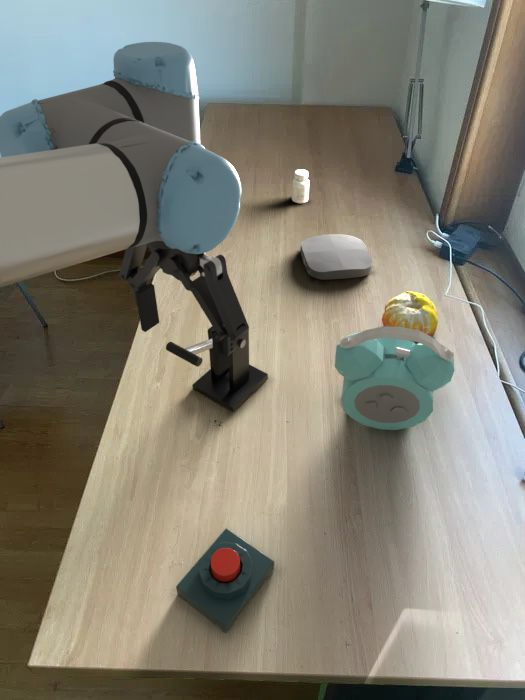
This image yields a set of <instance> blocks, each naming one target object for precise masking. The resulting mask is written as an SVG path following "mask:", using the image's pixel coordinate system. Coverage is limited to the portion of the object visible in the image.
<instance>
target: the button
mask: <svg viewBox="0 0 525 700" xmlns="http://www.w3.org/2000/svg"><path fill="white" fill-rule="evenodd" d="M211 572H212V574H213V576H214V577H215V579H217V580H218V581H221V582H229V581H232V580H234V579H235V578H236V577H237V576H238V574H239V572H240V558H239V556H238V554H237V553H236V552H235V551H234V550H232V549H230V548H222V549H219V550H217V551H216V552H215V553H214V554H213V556H212V558H211Z"/></svg>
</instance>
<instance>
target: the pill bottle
mask: <svg viewBox="0 0 525 700" xmlns="http://www.w3.org/2000/svg"><path fill="white" fill-rule="evenodd" d="M308 178H309V171H308V170H306V169H304V168H303V169H302V168H301V169H296V170H295V171H294V178H293V179H292V185H291V200H292V202H294V203H297V204H305V203H307V202H308V201H309V195H310V179H308Z"/></svg>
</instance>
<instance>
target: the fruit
mask: <svg viewBox="0 0 525 700" xmlns="http://www.w3.org/2000/svg"><path fill="white" fill-rule="evenodd" d="M381 322H382V324H383V325H382V326H388V327H404V328H409V329H414V330H419V331H421V332H423V333H425V334H427V335H429V336H431V337H433V336H434V335H435V333H436V331H437V328H438V324H439V316H438V311H437V308H436V306H435V304H434V302H433V301H432V300H431V299H430V298H429V297H427V295H425V294H424V293H419V292H415V291H405V292H402V293H399V295H397V296H394V297H392V298H391V299H389V301H388V302H386V304H385V305H384V312H383V314H382V317H381ZM408 341H409V340H408ZM412 342H414V343H415V344H419V342H415V341H412Z"/></svg>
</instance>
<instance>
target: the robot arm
mask: <svg viewBox="0 0 525 700" xmlns="http://www.w3.org/2000/svg"><path fill="white" fill-rule="evenodd" d="M112 59H113V71H112V73H113V77H114V78H113V79H110V80H107V81H104V82H103V83H100V84H96V85H93V86H88V87H85V88H80V89H77V90H74V91H70V92H69V91H68V92H65V93H61V94H58V95H54V96H49V97H47V98H41V99H37V98H34V99H32V100H31V101H30V102H28V103H24V104H22V105H19V106H17V107H14V108H11V109H8V110H6V111H4V112H2V114H1V115H0V156H1V157H0V288H3V287H6V286H9V285H13V284H17V283H20V282H23V281H26V280H30V279H33V278H36V277H39V276H43V275H47V274H49V273H53V272H55V271H59V270H63V269H66V268H69V267H72V266H76V265H79V264H82V263H85V262H88V261H92V260H95V259H98V258H101V257H105V256H108V255H112V254H115V253H117V252H122V251H124V250H125V251H124V255H123V259H122V261H121V266H120V270H119V273H118V275H119V279H121V281H122V282H126V281H127V282H128V286H129V287H130V289H131V290H132V291H133V296H134V302H135V305H136V307H137V311H138V317H139V322H140V328H141V331H143V332H144V333H147V332H148V331H150V330H151V329H153V328H154V327H155V326H157V325H158V324H160V318H159V317H160V316H159V310H158V309H159V308H158V303H157V295H156V289H155V284H154V283H151V282H150V281H152V280H153V277H155V275H156V274H157V273H158V272H159V271H160V270H161V271H162V273H164V274H166V275H169V276H172V277H173V278H175V280H177V281H179V282H181V284H182V285H183V287H184V289H185V290H186V291H188V292H191V293H192V295H193V297H194V298H195V300H196V302H197V304H198V305H199V306H200V308H201V310H202V311H203V313H204V315H205V317H206V318H207V320H208V321H209V323H210V325H211V327H212V326H213V328H214V329H215V331H216V332H215V333H213V334H212V343H213V359H214V373H215V374H217V375H220V374H221V373H222V372H224V371H225V370H226V369H227V368H228V367H230V366H231V365H232V352H233V351H234V350H235V340H236V339H237V338H238V337H240V336H241V335H242V334H243V333H245V332H246V331H247V330H248V329H249V330H250V325H249V323H248V321H247V318H246V316H245V313H244V311H243V309H242V306H241V303H240V301H239V298H238V296H237V294H236V291H235V288H234V286H233V283H232V281H231V279H230V276H229V274H228V267H227V260H226V258H225V256H224V255H223V254H218V255H216V256H214V257H213V256H211V255H207V254H206V253H208V252H210V251H213V249H215V248H216V247H218V246H219V245H220V244H221V243H223V242H224V241H225V240H226V238H228V236H229V235H230V233H231V232H232V230H233V228H234V226H235V224H236V222H237V220H238V217H239V214H240V211H241V200H242V193H243V192H242V183H241V180H240V177H239V174H238V172H237V170H236V168H235V167H234V166H233V164H231V163H230V161H228V160H227V159H226V158H225V157H223V156H221V155H219V154H217V153H215V152H213V151H211V150H209V149H207V148H205V146H204V145H203V144H201V128H200V127H201V125H200V123H201V122H200V104H199V100H200V94H199V89H198V81H197V75H196V74H197V73H196V67H195V62H194V58H193V55H192V54H191V53H190V51H189V50H188V49H186V48H184V47H183V46H181V45H178V44H176V43H172V42H167V41H166V42H165V41H141V42H136V43H130V44H127V45H124V46H123V47H122V48H119V49H117V50H116V51H115V52H114V55H113V58H112ZM147 248H148V249H149V251H150V255H149V256H148V258H147V259H146V260H145V261H144V258H145V254H146V252H147ZM143 261H144V262H143ZM197 272H198V273H199V276H198V277H197V278H195V279H193V280H192V279H191V278H192V277H194V276H195V275H196V274H197ZM147 283H148V284H147ZM223 324H224V326H223Z"/></svg>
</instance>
